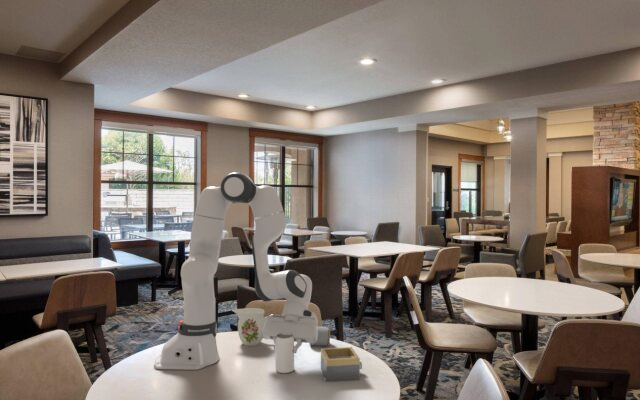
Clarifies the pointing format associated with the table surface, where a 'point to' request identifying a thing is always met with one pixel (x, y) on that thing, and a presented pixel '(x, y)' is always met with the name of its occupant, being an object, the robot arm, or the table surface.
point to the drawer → (340, 364)
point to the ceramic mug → (322, 337)
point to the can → (284, 353)
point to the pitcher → (250, 325)
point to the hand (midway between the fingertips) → (284, 351)
